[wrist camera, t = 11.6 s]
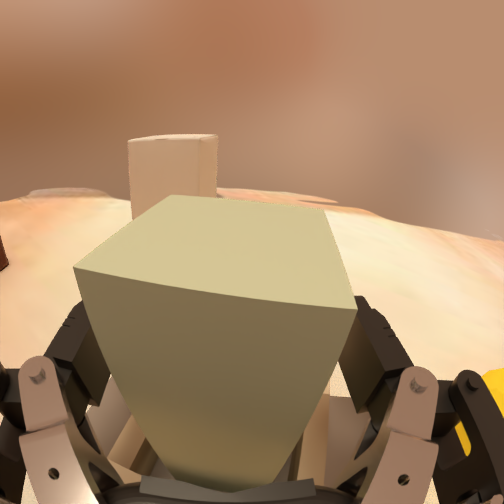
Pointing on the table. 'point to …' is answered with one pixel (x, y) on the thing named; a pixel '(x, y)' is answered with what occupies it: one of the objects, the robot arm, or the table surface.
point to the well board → (295, 468)
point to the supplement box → (171, 168)
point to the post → (220, 330)
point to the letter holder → (2, 256)
